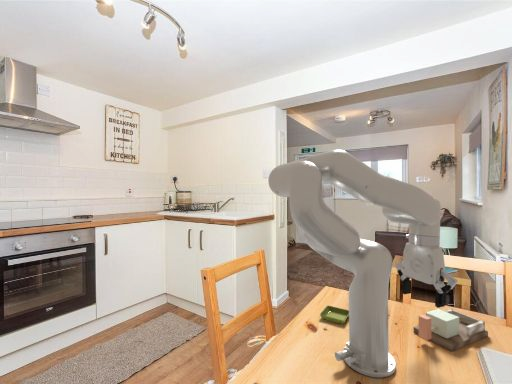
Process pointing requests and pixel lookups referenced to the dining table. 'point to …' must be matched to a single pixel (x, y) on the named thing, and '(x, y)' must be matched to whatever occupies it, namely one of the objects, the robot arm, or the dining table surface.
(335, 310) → the green tray
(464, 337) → the shelf
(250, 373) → the dining table surface
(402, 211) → the robot arm
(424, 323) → the joined block piece
